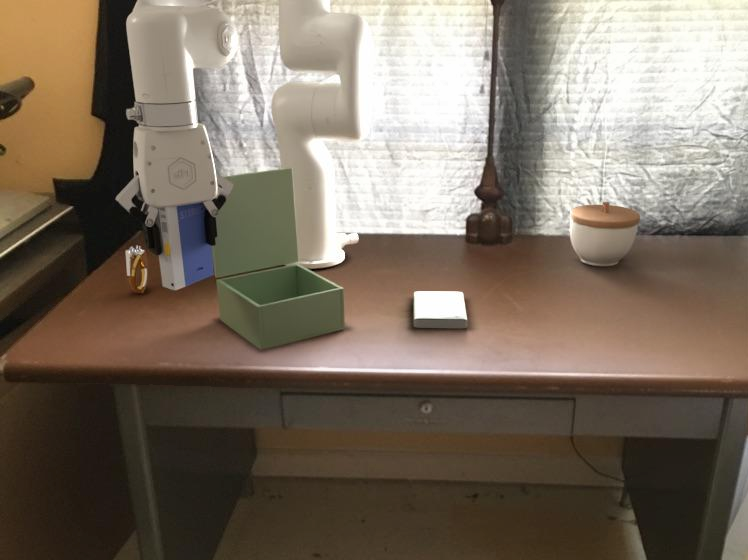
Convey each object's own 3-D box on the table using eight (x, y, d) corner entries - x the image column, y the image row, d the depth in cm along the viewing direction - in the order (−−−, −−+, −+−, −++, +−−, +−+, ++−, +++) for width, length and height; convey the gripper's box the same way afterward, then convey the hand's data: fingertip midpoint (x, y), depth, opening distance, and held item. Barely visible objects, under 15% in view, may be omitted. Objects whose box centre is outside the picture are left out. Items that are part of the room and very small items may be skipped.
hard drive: (467, 319, 129) (463, 290, 140) (413, 318, 129) (413, 290, 140) (467, 329, 130) (462, 300, 141) (413, 328, 130) (413, 299, 141)
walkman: (200, 271, 124) (191, 189, 118) (214, 275, 122) (206, 192, 117) (160, 287, 118) (149, 201, 112) (174, 290, 117) (164, 204, 111)
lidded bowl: (642, 257, 162) (650, 200, 157) (620, 275, 152) (628, 214, 147) (580, 246, 168) (586, 191, 163) (555, 263, 158) (560, 204, 153)
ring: (141, 300, 140) (135, 253, 136) (123, 299, 140) (116, 252, 136) (158, 286, 146) (152, 241, 142) (140, 285, 146) (133, 240, 142)
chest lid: (292, 168, 130) (290, 167, 130) (205, 179, 122) (203, 178, 123) (298, 261, 136) (296, 261, 136) (216, 277, 129) (215, 277, 129)
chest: (344, 329, 129) (343, 288, 126) (261, 350, 122) (257, 307, 119) (299, 302, 139) (297, 263, 136) (219, 319, 132) (216, 279, 129)
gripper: (110, 125, 102) (130, 265, 110) (241, 113, 111) (251, 244, 119) (91, 117, 108) (112, 251, 116) (218, 106, 117) (229, 232, 125)
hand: (182, 247), depth 118 cm, fingers closed on walkman, 7 cm apart
